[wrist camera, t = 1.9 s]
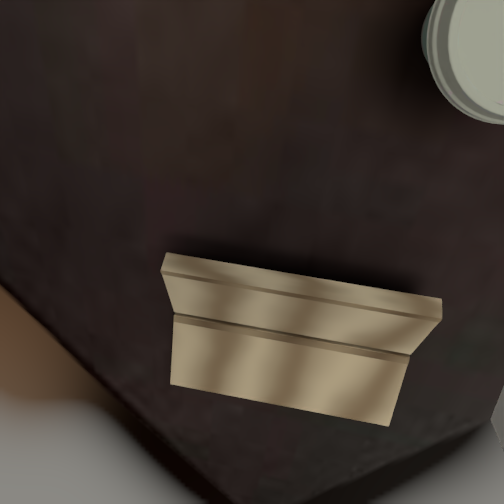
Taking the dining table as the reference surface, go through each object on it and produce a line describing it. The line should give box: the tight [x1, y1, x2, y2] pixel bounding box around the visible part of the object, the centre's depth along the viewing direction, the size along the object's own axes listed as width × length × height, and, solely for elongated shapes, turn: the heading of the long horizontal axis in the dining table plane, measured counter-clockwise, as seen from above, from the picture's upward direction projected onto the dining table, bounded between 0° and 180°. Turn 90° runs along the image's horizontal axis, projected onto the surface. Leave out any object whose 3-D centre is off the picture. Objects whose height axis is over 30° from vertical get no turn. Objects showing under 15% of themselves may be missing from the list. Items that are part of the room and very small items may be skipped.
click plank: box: [161, 252, 442, 355], centre depth 38 cm, size 20×8×2 cm
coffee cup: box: [421, 0, 504, 124], centre depth 26 cm, size 9×8×12 cm
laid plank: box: [170, 312, 410, 426], centre depth 43 cm, size 20×8×2 cm, turn 83°
